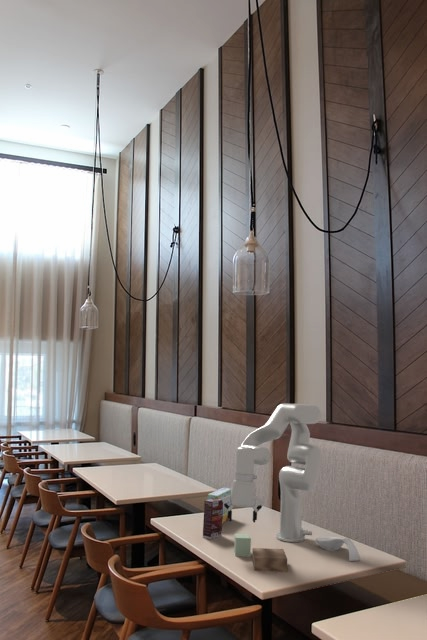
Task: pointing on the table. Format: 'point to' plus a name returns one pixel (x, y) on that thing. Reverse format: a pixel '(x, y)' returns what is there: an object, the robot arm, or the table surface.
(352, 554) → the spoon rest
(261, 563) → the walnut slab
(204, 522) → the supplement box
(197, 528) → the table surface
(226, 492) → the snack box
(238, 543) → the sage block
